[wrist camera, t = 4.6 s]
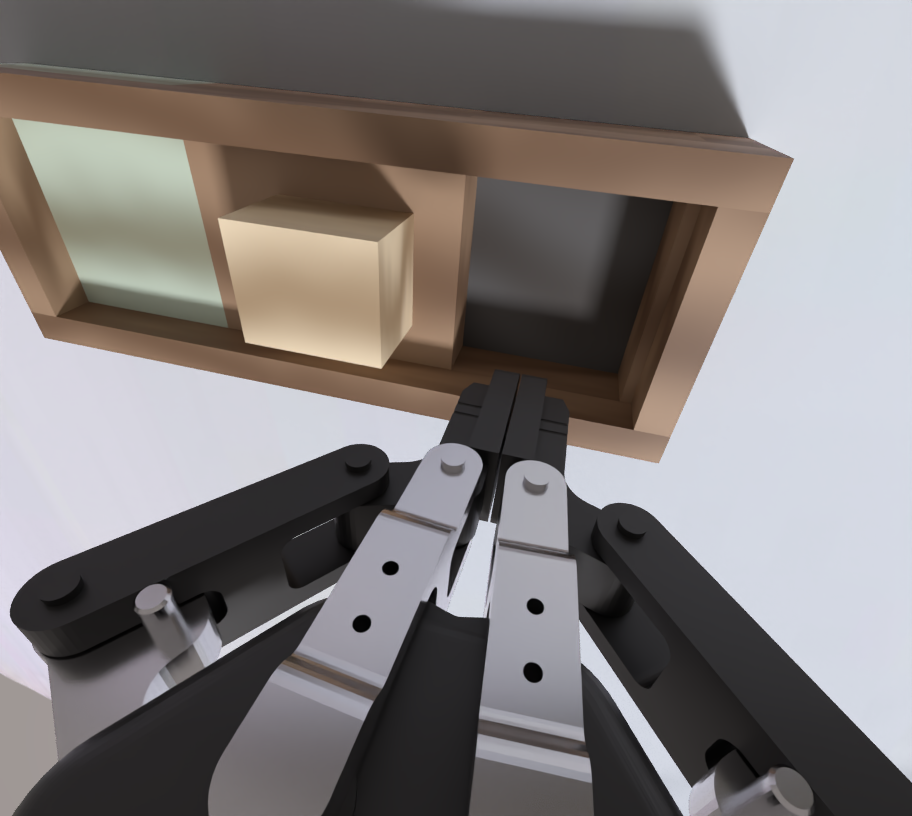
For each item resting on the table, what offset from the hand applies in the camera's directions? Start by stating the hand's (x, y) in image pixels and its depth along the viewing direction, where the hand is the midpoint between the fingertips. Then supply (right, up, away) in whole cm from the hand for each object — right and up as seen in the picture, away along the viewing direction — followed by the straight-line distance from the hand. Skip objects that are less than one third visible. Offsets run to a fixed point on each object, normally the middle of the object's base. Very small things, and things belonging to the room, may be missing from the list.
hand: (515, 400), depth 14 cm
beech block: (-7, +6, +7) cm, 12 cm away
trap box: (-7, +8, +10) cm, 15 cm away
